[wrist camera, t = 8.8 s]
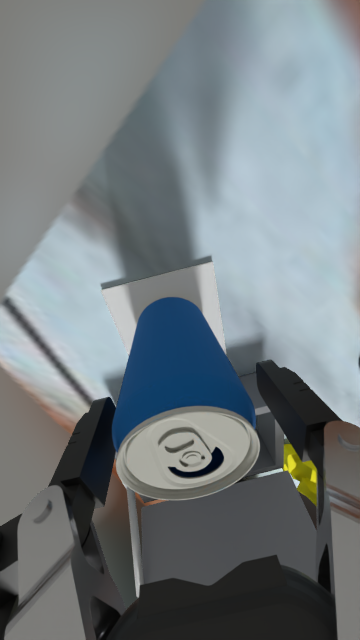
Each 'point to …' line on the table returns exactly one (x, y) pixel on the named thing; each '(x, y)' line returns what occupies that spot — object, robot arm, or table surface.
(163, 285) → the pad
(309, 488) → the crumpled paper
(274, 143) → the table surface
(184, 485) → the beverage can
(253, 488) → the case
